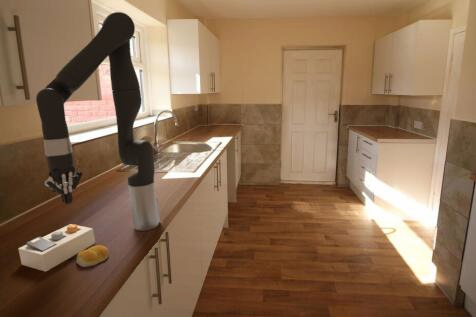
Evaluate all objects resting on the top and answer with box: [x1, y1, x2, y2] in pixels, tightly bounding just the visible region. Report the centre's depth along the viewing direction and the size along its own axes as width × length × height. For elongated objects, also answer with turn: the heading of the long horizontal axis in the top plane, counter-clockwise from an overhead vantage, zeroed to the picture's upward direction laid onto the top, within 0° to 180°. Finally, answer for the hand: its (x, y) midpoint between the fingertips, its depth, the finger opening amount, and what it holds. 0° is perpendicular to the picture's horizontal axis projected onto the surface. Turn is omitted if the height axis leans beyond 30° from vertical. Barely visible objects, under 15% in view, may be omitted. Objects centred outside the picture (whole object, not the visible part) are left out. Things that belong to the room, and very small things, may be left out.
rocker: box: [26, 236, 55, 252], centre depth 95 cm, size 4×7×1 cm, turn 66°
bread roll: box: [76, 244, 110, 268], centre depth 96 cm, size 8×9×4 cm
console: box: [17, 223, 96, 272], centre depth 100 cm, size 18×11×6 cm, turn 156°
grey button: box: [51, 231, 64, 242], centre depth 100 cm, size 3×3×2 cm
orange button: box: [67, 224, 79, 234], centre depth 104 cm, size 3×3×2 cm
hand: (67, 203), depth 102 cm, fingers closed
